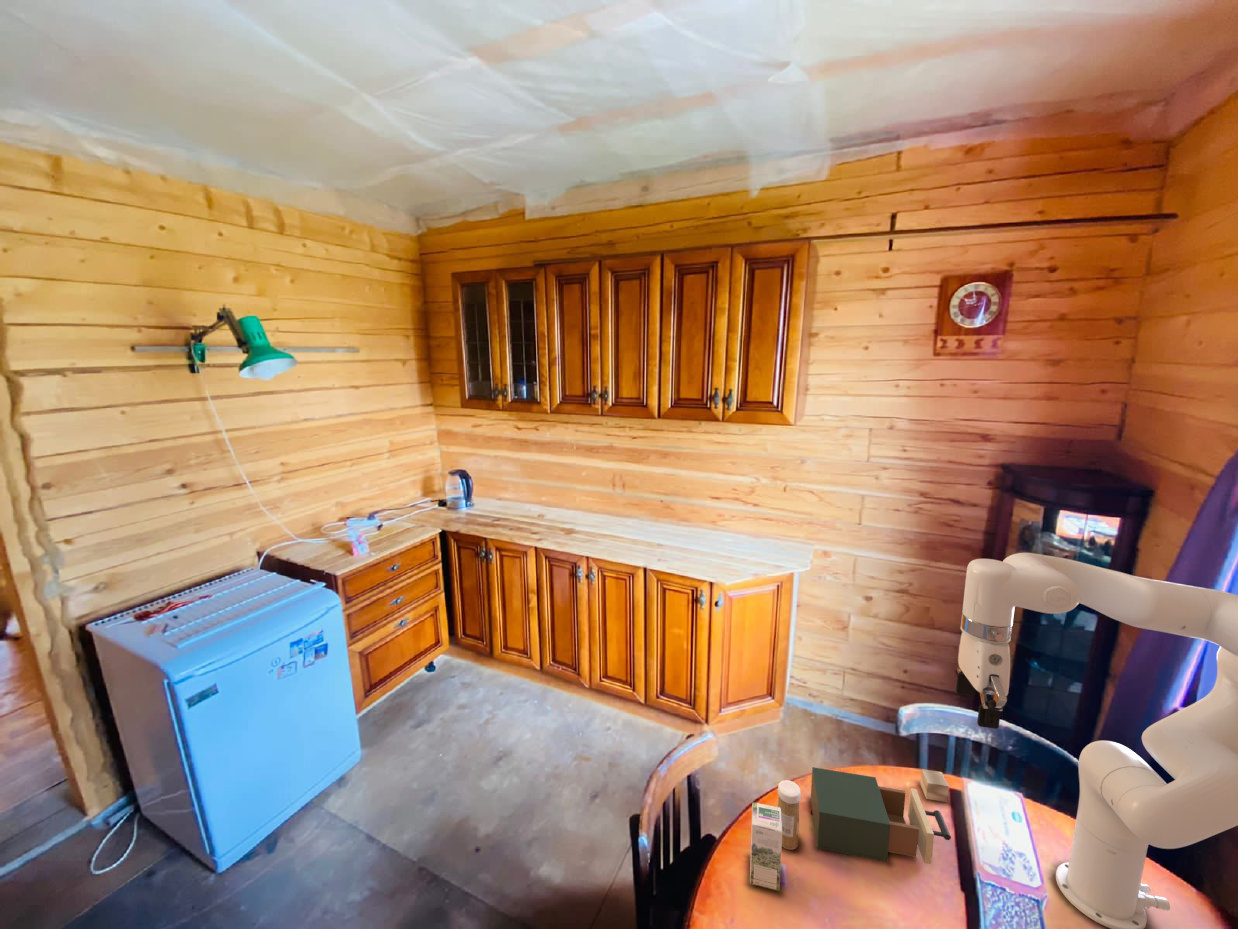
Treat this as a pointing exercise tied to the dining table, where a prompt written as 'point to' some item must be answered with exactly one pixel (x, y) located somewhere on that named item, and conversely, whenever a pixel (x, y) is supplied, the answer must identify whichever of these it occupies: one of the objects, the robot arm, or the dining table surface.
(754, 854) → the syrup box
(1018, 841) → the dining table surface
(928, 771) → the block
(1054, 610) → the robot arm
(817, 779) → the cabinet
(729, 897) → the dining table surface
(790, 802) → the spice jar
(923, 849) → the drawer
